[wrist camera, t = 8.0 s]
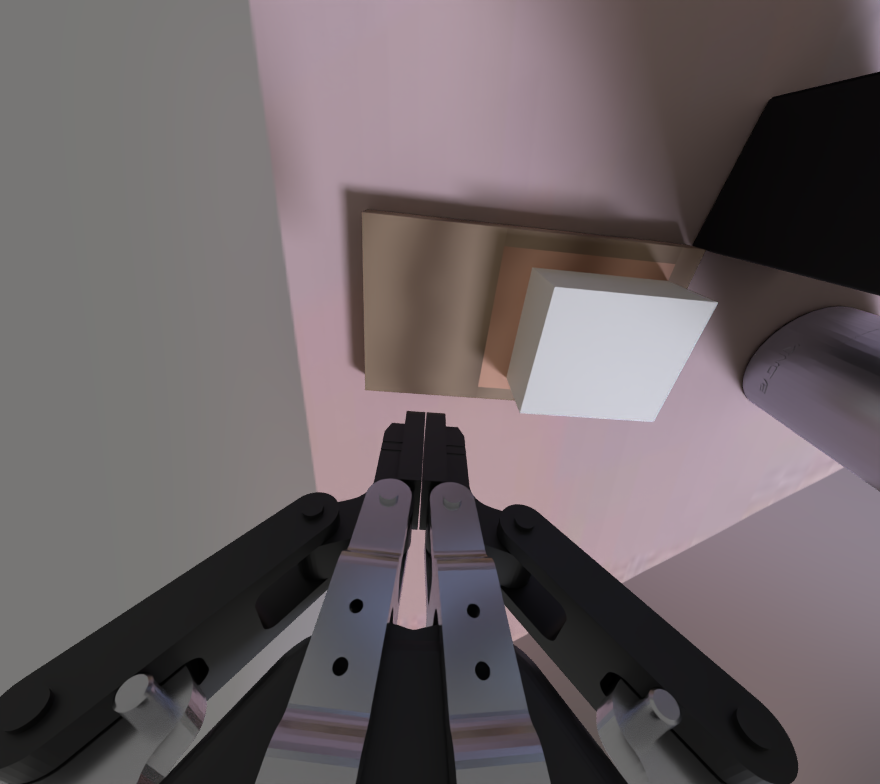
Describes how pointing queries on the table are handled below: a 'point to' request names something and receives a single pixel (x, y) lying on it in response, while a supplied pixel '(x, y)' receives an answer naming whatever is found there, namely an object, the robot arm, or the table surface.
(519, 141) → the table surface
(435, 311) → the podium
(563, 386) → the carton
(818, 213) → the black rectangular column
